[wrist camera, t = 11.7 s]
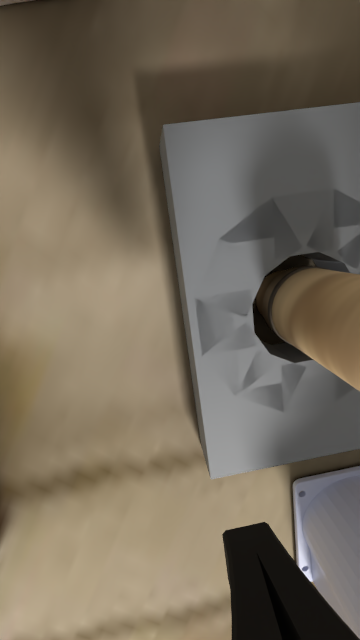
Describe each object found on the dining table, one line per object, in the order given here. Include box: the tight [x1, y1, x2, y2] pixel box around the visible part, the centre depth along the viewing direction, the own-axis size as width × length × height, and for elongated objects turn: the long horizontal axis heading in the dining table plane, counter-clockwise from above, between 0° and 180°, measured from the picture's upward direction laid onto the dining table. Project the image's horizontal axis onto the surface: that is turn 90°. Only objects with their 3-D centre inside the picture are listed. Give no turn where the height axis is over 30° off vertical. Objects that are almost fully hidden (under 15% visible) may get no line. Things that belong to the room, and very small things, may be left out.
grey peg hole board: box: [159, 102, 360, 479], centre depth 17 cm, size 18×16×3 cm
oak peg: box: [256, 266, 360, 391], centre depth 14 cm, size 4×4×9 cm
